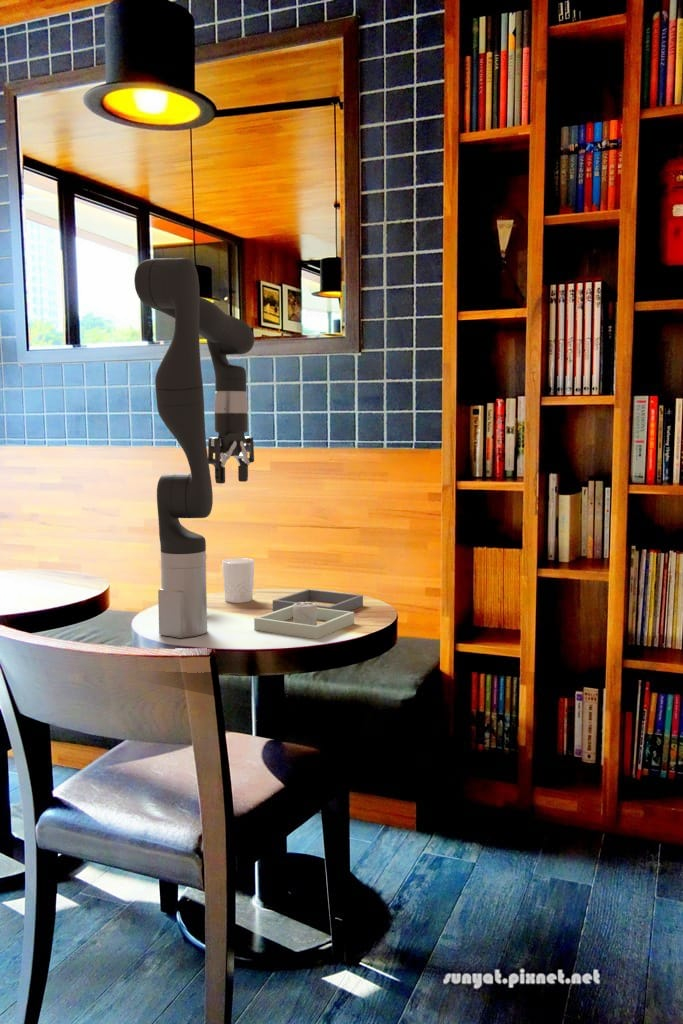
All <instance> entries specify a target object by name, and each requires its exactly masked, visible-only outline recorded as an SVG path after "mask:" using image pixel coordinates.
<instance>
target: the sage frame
mask: <svg viewBox="0 0 683 1024" xmlns="http://www.w3.org/2000/svg"><path fill="white" fill-rule="evenodd" d="M292 617H293V605H292V606H289V607H286V608H283V609H280V610H277V611H271V612H269V613H266V614H262V615H260V616H256V617H253V621H254V622H253V623H254V629H253V630H254V631H259V630H260V631H262V632H266V633H274V634H281V635H287V636H294V637H300V638H307V639H315V640H318V639H320V638H322V637H323V638H324V637H326V636H328V635H331V634H333V633H334V632H338V631H340V630H342V629H345V628H346V627H349V626H351V625H355V612H354V611H341V610H333V609H325V608H317V621H318V620H319V621H324V622H322V623H319V624H317V625H316V626H314V625H307V624H300V623H293V622H292V621H287V620H289V619H293V618H292ZM284 620H285V621H284Z"/></svg>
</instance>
